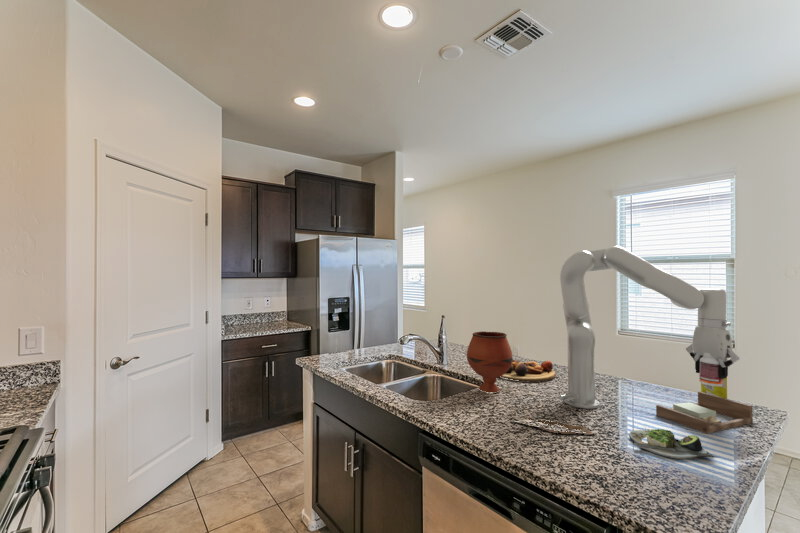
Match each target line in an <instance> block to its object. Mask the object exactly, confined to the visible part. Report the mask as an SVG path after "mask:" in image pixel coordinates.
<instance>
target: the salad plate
mask: <svg viewBox="0 0 800 533" xmlns="http://www.w3.org/2000/svg"><path fill="white" fill-rule="evenodd" d="M628 436H629V438H630V439H631V440H632V441H633V442H634V446H635V447H638V448H641V449H644V450H646V451H647V452H650V453H652V454H653V453H654V454H656V455H659V456H663V457H667V458H670V459H675V460H676V459H677V460H681V459H682V460H683V459H684V460H685V459H687V460H688V459H689V460H691V459H693V460H695V459H704V458H712V457H714V455H713V454H712V453H711V454H709V452H708V451H707V450H705V449H704V447H703V446H702V441H701V440H700V438H699V436H697V435H695V434H692V435H688V436H684V437H683V438H681V439H678V438H675V434H673V432H672V430H670V429H664V428H655V429H653V428H652V429H644V430H641V429H640V430H639V429H636V430H635V429H634V430H631V431H629V434H628ZM643 439H646V440H647V443H646V442H645V441H643Z"/></svg>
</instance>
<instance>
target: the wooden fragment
mask: <svg viewBox="0 0 800 533" xmlns="http://www.w3.org/2000/svg"><path fill="white" fill-rule="evenodd" d="M527 418H528V417H527ZM527 418H525V419H527ZM528 419H529V418H528ZM530 419H531V420H534V419H532V418H530ZM530 419H529V420H530ZM549 420H550V422H549V421H546V422H545V421H541V420H538V422H542V423H544V422H545V424H546V423H549V424H550V425H551V424H552V425H554V424H557V423H558V425H559V424H560V425H561V426H563V425H564V426H565V427H566V428H568V429H576V430H577V429H579V430H580V429H581V430H586V429H587V430H586V431H584V432H586V434H585V435H593V434H594V432H592V431H591V430H589V429H588V428H587V427H586V426H583V425H581V426H572V425H571V424H569V425H567V424H568V423H566V422H565V423H564V422H563V423H564V424H563V423H561V422H558V421H553V420H552V419H549ZM551 421H553V422H551ZM549 424H548V425H549ZM582 426H583V427H582ZM583 428H584V429H583ZM538 429H541V430H544V431H546V432H550V433H554V434H556V433H557V434H558V431H554V430H549V429H544V428H538ZM560 433H561V434H560V435H580V434H579V433H578V434H576V433H575V432H571V431H569V432H568V431H567V432H566V431H565V432H560Z"/></svg>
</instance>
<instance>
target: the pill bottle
mask: <svg viewBox="0 0 800 533" xmlns="http://www.w3.org/2000/svg"><path fill="white" fill-rule="evenodd" d="M719 367H721V365H720V363H719V360H718V358H714V357H712V356H711V355H710V354H709V353H704V355H703V357H702V358H700V373H698V374H699V375H698V376H699V378H698V379H699V382H700V384H701V383H703V384H706V385H710V386H722V385H723V379H720V378H719Z"/></svg>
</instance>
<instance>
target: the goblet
mask: <svg viewBox="0 0 800 533" xmlns="http://www.w3.org/2000/svg"><path fill="white" fill-rule="evenodd" d="M466 351H467V352H466V359H467V362H468V365H469V366H470V368H471V370H472V371H473V372H475V374H477V375H478V376H480V377H482V381H483V383H482V384H481V385H480V386H478V390H479V389H480V390H482V391H486V392H497V391H500V389H499V387H498V386H497V384H496V382H497V378H498V377H500V376H502V375H504V374H505V373H506V372H507V371H508V370H509V368H510V367H511V365H512V360H514V359H513V357H514V356H513V352H512V349H511V346H510V343H509V341H508V338H507V334H506V333H504V332H498V331H475V332H473V333H472V337H471V340H470V342H469V344H468V347H467V350H466ZM498 379H499V378H498Z"/></svg>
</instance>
